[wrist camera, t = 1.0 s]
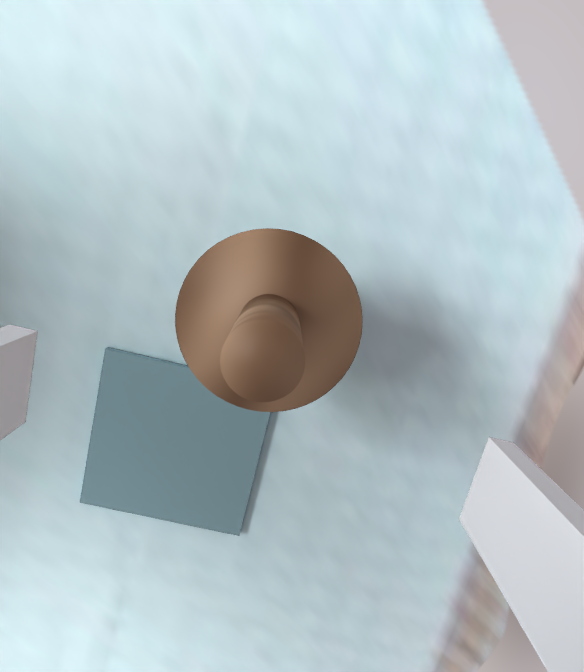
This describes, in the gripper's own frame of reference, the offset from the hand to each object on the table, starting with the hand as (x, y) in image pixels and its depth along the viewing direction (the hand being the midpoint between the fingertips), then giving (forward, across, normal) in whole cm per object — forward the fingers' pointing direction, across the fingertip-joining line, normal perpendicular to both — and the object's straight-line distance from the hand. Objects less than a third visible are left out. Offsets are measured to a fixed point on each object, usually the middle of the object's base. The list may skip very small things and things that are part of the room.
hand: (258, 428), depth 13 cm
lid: (+16, 0, 0) cm, 16 cm away
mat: (+24, -6, -14) cm, 29 cm away
